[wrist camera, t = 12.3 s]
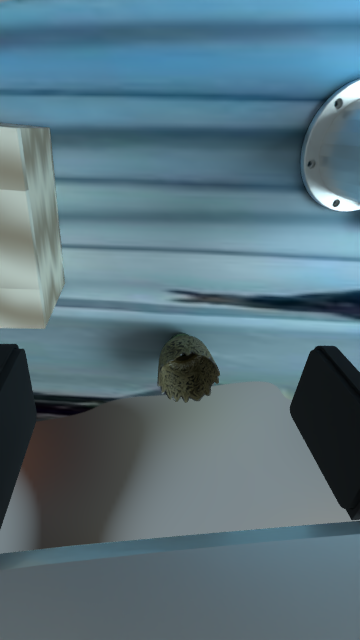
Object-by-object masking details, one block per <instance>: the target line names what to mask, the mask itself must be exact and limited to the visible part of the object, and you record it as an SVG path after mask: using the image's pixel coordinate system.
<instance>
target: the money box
mask: <svg viewBox="0 0 360 640" xmlns="http://www.w3.org/2000/svg"><path fill="white" fill-rule="evenodd" d="M64 284H65V281H64V271H63V260H62V250H61V239H60V229H59V219H58V208H57V198H56V187H55V177H54V167H53V156H52V146H51V135H50V128H47V127H37V126H27V125H18V124H8V123H0V328H29V329H45V328H46V325H47V323H48V321H49V318H50V316H51V314H52V312H53V309H54V307H55V305H56V303H57V300H58V298H59V296H60V293H61V291H62V289H63V287H64Z"/></svg>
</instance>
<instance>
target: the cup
mask: <svg viewBox="0 0 360 640" xmlns="http://www.w3.org/2000/svg"><path fill="white" fill-rule="evenodd" d="M218 376H220V372H219V369H218V367H217V365H216V363H215V361H214V360H213V358H212V356H211V354H210V352H209V351H208V349H207V348H206V346H205V345H204V344H203V343H202V342H201V341H200V340H199V339H197V338H195V337H193V336H189V335H188V334H185V333H179V334H176V335H174V336H173V337H172V338H171V339H170V340H169V341H168V342H167V343H166V344H165V346H164V347H163V349H162V351H161V354H160V358H159V367H158V382H157V385H158V387H161V393H162V394H163V393H164V392H165V393H166V395H167V396H168V398H169V399H171V398H173V399H174V401H175V402H177V401H178V400H179V399H180V397H182V398H183V401H184V402H185V403H186V402H188V400H189V398H190V399H193V400H194V401H200V400H201V399H202V398H203V396H204V395H207V396H209V395H210V394H211V386H212V385H214V382H215V383H216V384H218V383H219V378H218Z"/></svg>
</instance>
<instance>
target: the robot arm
mask: <svg viewBox="0 0 360 640" xmlns="http://www.w3.org/2000/svg"><path fill="white" fill-rule="evenodd" d="M335 102H336V105H335V107H334V103H335ZM308 162H310V164H309V166H308ZM300 164H301V175H302V179H303V182H304V185H305V187H306V189H307V191H308V193H309V194H310V196H311V197H312V198H313V199H314V200H315V201H316V202H317V203H319V204H320V205H322V206H324V207H326V208H328V209H330V210H334V211H338V212H351V211H357V210H360V79H357V80H355V81H352V82H350V83H348V84H346V85H345V86H343V87H342V88H340V89H339V90H337V91H336V92H335V93H334V94H333V95H332V96H331V97H330V98H328V99H327V101H326V102H325V103H324V104H323V105H322V107H321V108H320V109H319V110H318V112H317V113H316V115H315V117H314V118H313V120H312V122H311V123H310V126H309V128H308V131H307V133H306V135H305V138H304V142H303V146H302V151H301V162H300ZM333 201H334V202H333ZM290 413H291V416H292V418H293V420H294V422H295V424H296V426H297V427H298V429H299V431H300V433H301V435H302V437H303V439H304V440H305V442H306V444H307V446H308V448H309V449H310V451H311V453H312V455H313V457H314V459H315V460H316V462H317V464H318V466H319V468H320V470H321V472H322V474H323V475H324V477H325V479H326V481H327V483H328V485H329V486H330V488H331V490H332V492H333V494H334V496H335V497H336V499H337V501H338V503H339V504H340V506H341V507H342V508H344V509H346V511H347V512H348V514H349V516H350V518H351V520H359V519H360V372H359V371H358V370H357V369H356V368H355V367H354V366H353V365H352V364H351V362H350V361H349V360H348V359H347V358H346V357H345V356H344V355H343V354H342V353H341V352H340V350H339V349H338V348H337V347H335V346H317V347H316V348H315V349H314V350H312V351H311V352H310V354H309V356H308V359H307V362H306V364H305V367H304V370H303V372H302V375H301V378H300V381H299V383H298V386H297V389H296V391H295V394H294V397H293V400H292V403H291V405H290ZM35 423H36V407H35V402H34V397H33V391H32V386H31V381H30V375H29V370H28V364H27V359H26V354H25V350H24V349H19V347H18V345H16V344H0V529H1V526H2V523H3V520H4V517H5V514H6V511H7V508H8V505H9V502H10V499H11V495H12V493H13V490H14V487H15V483H16V480H17V478H18V474H19V472H20V469H21V465H22V462H23V459H24V456H25V453H26V450H27V447H28V444H29V441H30V438H31V435H32V432H33V429H34V426H35ZM0 640H360V521H353V522H341V523H328V524H316V525H303V526H291V527H279V528H267V529H256V530H244V531H232V532H220V533H209V534H197V535H186V536H176V537H175V536H174V537H163V538H152V539H141V540H131V541H120V542H109V543H98V544H88V545H76V546H67V547H57V548H48V549H39V550H31V551H21V552H13V553H3V554H0Z"/></svg>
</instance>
